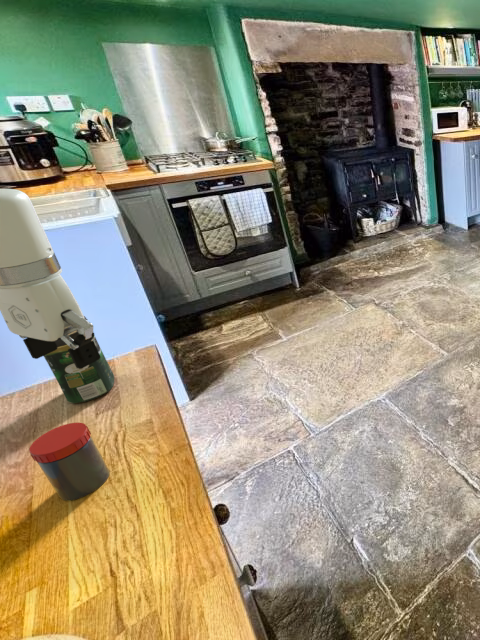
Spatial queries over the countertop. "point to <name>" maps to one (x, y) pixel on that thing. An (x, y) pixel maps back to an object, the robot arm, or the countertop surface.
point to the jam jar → (77, 472)
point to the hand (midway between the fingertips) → (67, 358)
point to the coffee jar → (79, 373)
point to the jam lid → (59, 442)
